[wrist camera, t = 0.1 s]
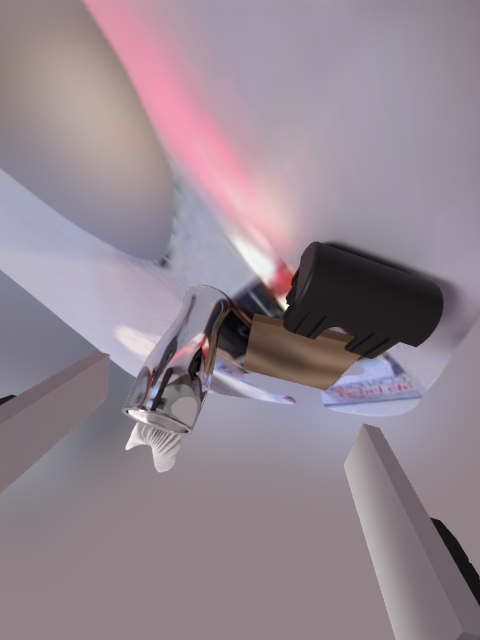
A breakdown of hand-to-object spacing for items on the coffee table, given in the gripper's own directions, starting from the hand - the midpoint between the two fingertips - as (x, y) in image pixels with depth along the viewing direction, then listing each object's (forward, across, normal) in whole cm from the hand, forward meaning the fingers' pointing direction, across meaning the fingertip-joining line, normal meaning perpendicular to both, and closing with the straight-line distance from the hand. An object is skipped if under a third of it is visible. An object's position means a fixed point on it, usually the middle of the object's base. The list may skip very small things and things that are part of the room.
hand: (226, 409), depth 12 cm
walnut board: (+23, +7, -6) cm, 25 cm away
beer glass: (+19, -6, 0) cm, 20 cm away
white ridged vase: (+32, -12, -18) cm, 39 cm away
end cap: (+14, +8, +8) cm, 18 cm away
